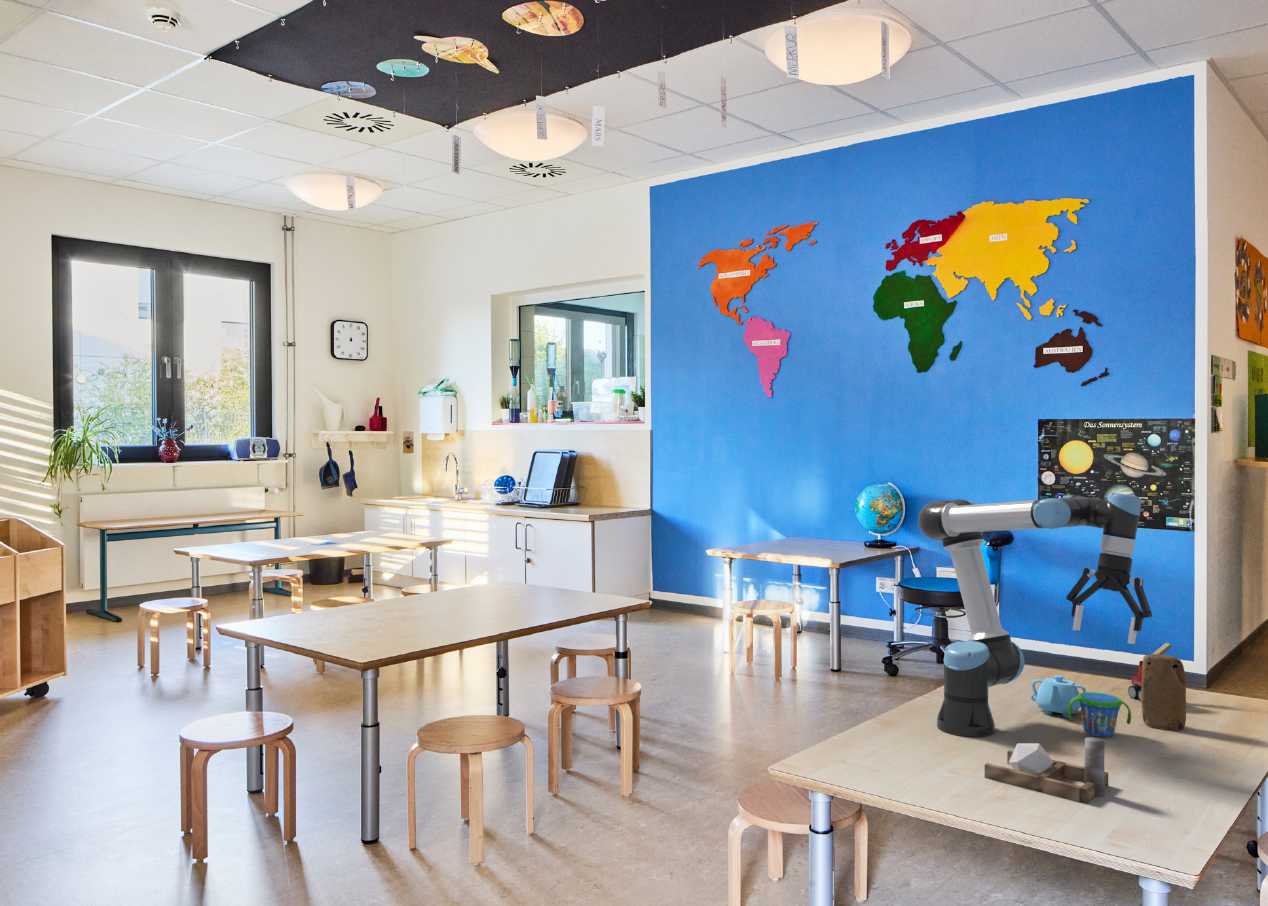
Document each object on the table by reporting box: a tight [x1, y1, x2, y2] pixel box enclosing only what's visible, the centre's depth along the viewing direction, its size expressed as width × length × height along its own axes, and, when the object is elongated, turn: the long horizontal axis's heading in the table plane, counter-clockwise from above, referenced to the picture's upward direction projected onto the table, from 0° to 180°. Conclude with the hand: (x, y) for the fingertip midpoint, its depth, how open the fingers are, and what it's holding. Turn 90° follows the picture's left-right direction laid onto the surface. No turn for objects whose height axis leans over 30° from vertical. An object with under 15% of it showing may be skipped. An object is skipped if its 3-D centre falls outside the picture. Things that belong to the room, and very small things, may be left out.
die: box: [1008, 742, 1054, 776], centre depth 220 cm, size 8×9×10 cm
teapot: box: [1030, 675, 1087, 719], centre depth 274 cm, size 13×14×11 cm
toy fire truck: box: [1127, 642, 1173, 702], centre depth 287 cm, size 11×16×18 cm
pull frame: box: [984, 737, 1109, 804], centre depth 217 cm, size 24×15×12 cm, turn 46°
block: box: [1140, 653, 1187, 731], centre depth 262 cm, size 11×8×20 cm
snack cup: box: [1068, 691, 1132, 738], centre depth 255 cm, size 16×10×10 cm
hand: (1103, 636), depth 237 cm, fingers open, 13 cm apart
